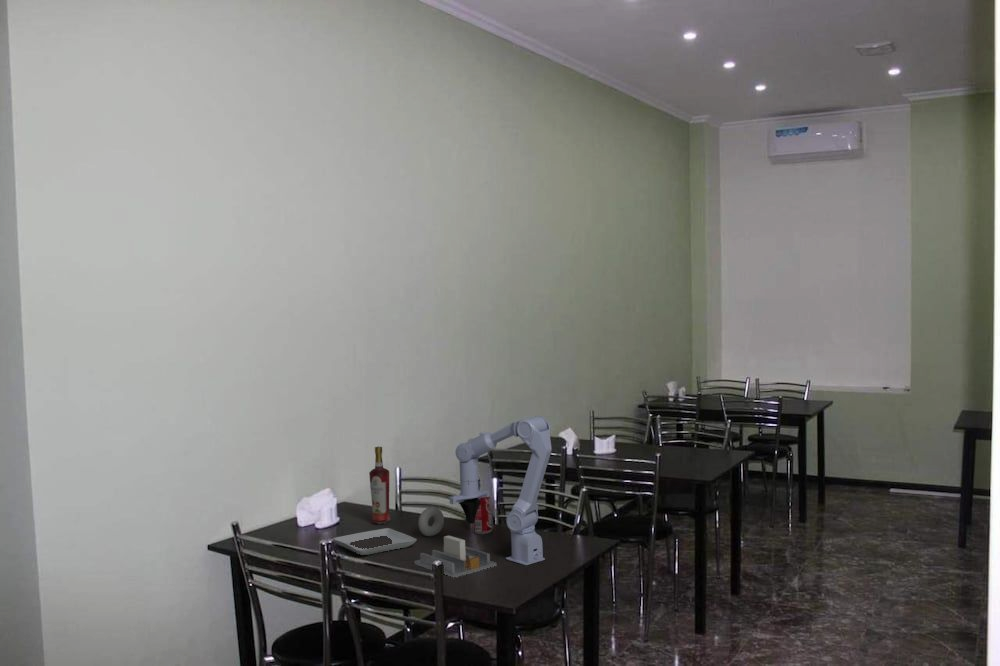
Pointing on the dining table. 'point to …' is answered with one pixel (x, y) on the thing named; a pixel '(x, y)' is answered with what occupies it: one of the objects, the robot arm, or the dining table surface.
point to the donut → (425, 518)
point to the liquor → (379, 489)
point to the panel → (454, 547)
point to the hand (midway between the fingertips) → (470, 522)
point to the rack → (457, 562)
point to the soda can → (483, 517)
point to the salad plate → (397, 537)
